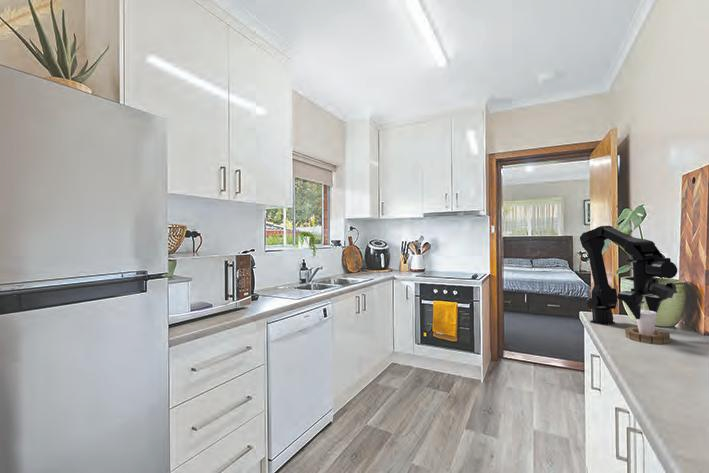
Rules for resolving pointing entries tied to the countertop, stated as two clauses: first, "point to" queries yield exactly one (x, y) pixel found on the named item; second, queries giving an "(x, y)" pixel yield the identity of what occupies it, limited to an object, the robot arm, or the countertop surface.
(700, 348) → the countertop surface
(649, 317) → the smoothie
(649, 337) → the walnut ring
